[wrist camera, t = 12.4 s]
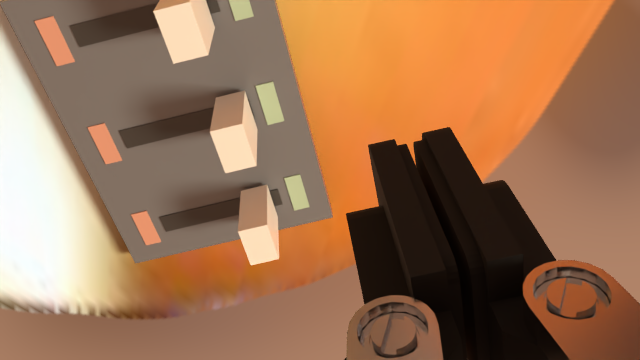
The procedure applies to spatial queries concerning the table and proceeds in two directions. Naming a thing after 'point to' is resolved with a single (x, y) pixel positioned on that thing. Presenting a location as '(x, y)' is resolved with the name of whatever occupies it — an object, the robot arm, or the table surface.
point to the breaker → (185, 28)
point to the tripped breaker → (234, 132)
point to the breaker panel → (173, 116)
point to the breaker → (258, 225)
